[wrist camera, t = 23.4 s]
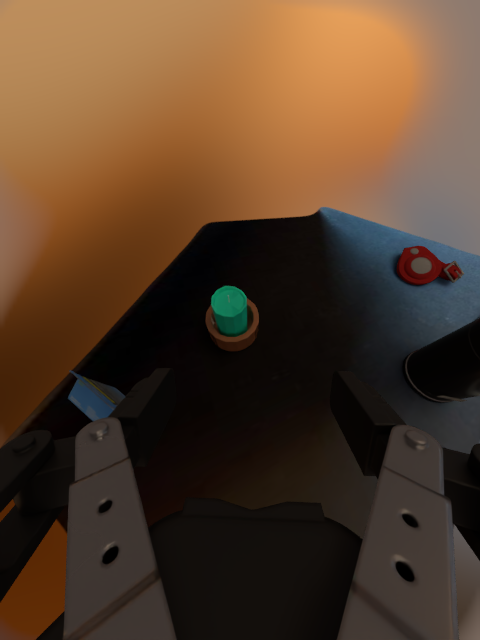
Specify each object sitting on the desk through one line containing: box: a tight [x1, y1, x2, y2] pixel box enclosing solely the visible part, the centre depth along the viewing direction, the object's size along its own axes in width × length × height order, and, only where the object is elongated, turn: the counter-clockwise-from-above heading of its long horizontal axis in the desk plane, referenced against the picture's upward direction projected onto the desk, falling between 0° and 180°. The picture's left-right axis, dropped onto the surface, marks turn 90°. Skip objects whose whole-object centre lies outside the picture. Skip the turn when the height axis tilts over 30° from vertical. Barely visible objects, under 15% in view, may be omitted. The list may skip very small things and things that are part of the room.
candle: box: [211, 286, 247, 337], centre depth 41 cm, size 6×6×12 cm
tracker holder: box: [397, 246, 464, 285], centre depth 50 cm, size 12×4×10 cm
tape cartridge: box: [68, 370, 125, 421], centre depth 35 cm, size 9×4×12 cm, turn 56°
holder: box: [205, 299, 259, 351], centre depth 45 cm, size 10×10×5 cm
